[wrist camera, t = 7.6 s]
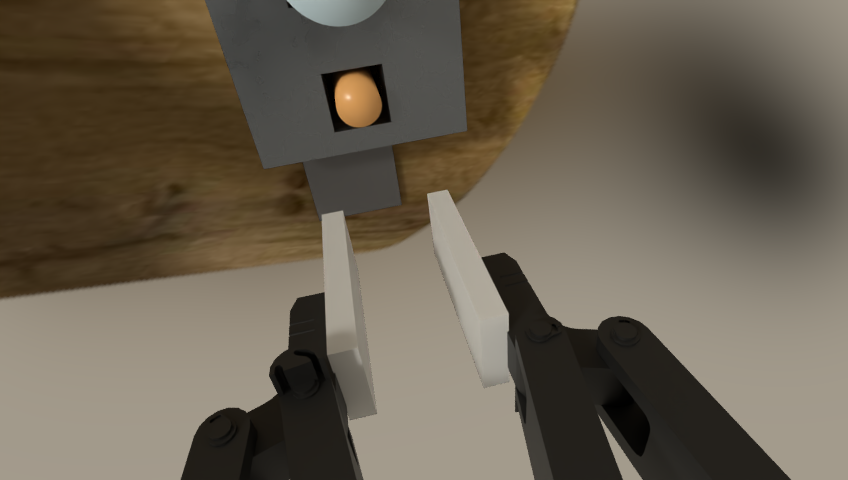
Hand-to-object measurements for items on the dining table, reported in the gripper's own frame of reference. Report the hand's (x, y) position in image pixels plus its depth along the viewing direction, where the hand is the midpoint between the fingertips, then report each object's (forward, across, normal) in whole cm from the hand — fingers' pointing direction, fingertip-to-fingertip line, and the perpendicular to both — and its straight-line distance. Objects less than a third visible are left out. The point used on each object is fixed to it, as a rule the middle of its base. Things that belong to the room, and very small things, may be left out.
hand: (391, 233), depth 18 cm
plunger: (+20, 0, 0) cm, 20 cm away
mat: (+21, -2, -8) cm, 22 cm away
